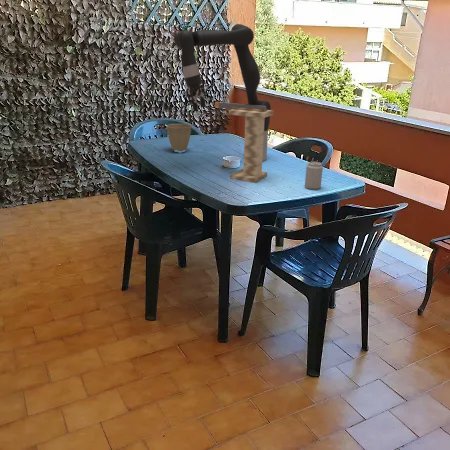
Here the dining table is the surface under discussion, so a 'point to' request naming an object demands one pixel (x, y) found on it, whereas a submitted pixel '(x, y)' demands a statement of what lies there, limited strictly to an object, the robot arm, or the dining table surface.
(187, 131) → the plant pot
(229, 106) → the bar
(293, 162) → the dining table surface
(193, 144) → the dining table surface
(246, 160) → the stand
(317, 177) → the can
